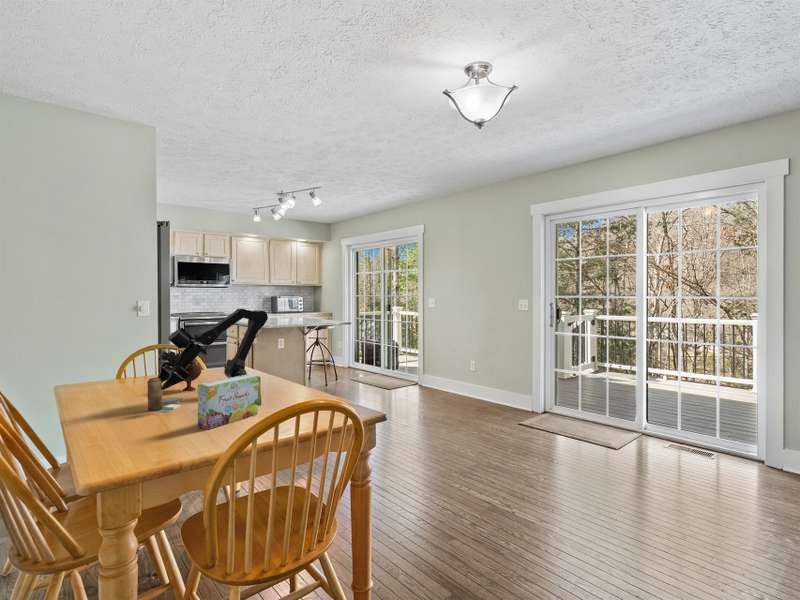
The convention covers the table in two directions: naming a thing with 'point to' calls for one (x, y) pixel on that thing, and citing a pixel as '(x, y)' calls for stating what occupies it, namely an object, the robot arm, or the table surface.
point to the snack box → (227, 400)
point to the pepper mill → (154, 394)
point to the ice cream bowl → (192, 375)
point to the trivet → (171, 400)
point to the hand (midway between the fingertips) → (157, 387)
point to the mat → (167, 408)
